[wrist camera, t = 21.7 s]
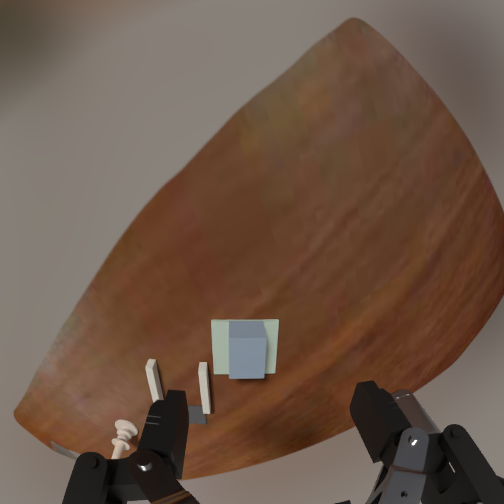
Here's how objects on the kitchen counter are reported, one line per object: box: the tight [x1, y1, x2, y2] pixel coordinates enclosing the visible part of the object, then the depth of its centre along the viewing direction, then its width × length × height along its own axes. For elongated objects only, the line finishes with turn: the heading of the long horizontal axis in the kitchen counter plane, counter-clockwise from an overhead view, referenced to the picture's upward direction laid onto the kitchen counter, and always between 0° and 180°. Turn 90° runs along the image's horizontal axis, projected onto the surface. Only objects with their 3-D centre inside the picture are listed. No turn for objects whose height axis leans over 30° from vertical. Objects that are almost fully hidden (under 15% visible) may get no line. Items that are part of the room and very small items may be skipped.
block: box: [229, 321, 267, 379], centre depth 39 cm, size 7×5×5 cm
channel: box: [145, 359, 211, 424], centre depth 43 cm, size 16×10×2 cm, turn 179°
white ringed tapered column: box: [112, 420, 138, 459], centre depth 41 cm, size 5×5×10 cm
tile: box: [211, 319, 279, 374], centre depth 42 cm, size 10×10×1 cm
